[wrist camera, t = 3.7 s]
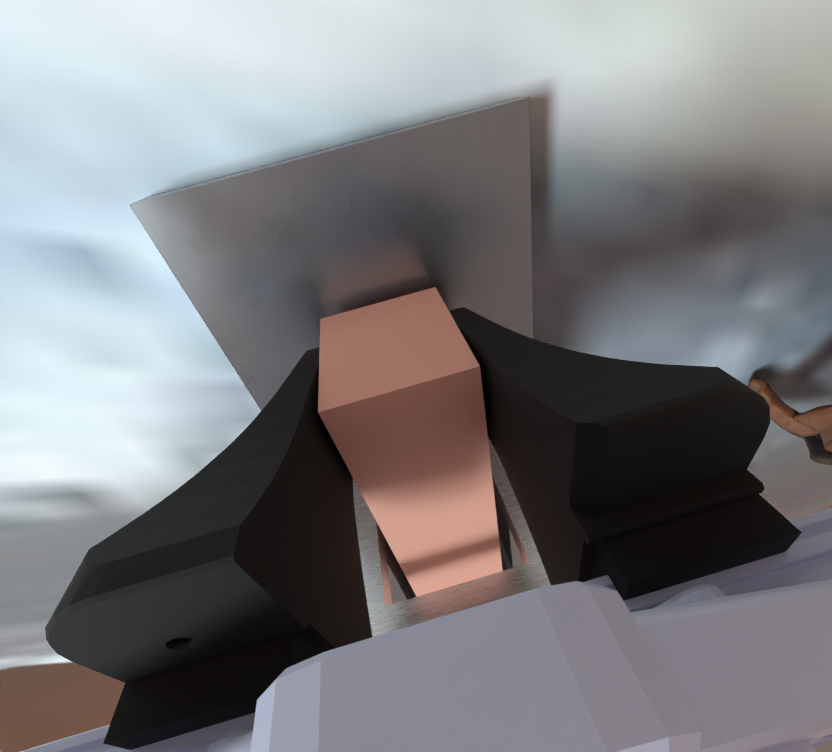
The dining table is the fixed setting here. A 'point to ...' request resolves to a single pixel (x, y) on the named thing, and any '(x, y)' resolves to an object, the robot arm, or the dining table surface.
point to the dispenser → (367, 282)
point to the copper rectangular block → (413, 434)
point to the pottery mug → (801, 422)
